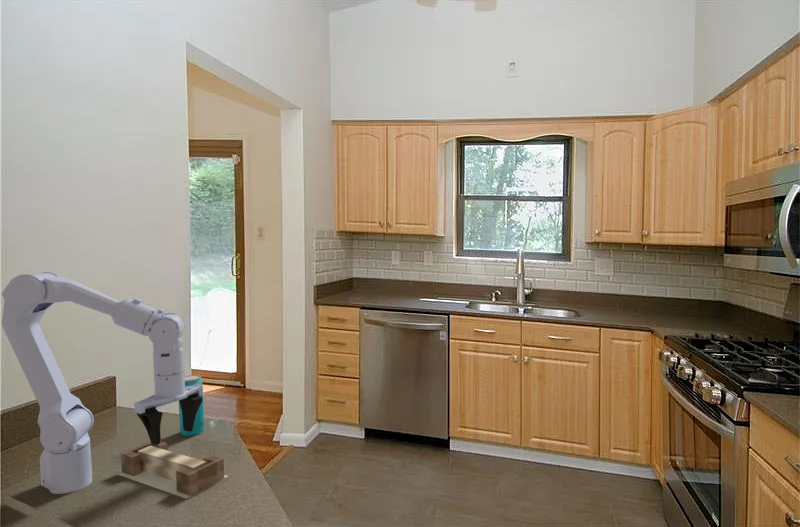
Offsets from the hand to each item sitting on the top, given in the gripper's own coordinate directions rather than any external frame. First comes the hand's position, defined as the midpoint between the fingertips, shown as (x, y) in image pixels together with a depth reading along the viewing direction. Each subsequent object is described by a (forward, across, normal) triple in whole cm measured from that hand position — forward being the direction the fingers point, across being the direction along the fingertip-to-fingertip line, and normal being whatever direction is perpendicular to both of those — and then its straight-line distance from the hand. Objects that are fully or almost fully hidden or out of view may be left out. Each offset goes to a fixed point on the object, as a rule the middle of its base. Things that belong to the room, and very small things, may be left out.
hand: (172, 436), depth 104 cm
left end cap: (+8, -1, +8) cm, 11 cm away
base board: (+8, -1, -1) cm, 9 cm away
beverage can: (+9, +17, +16) cm, 25 cm away
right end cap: (+8, -1, -10) cm, 12 cm away
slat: (+8, -1, -1) cm, 8 cm away
